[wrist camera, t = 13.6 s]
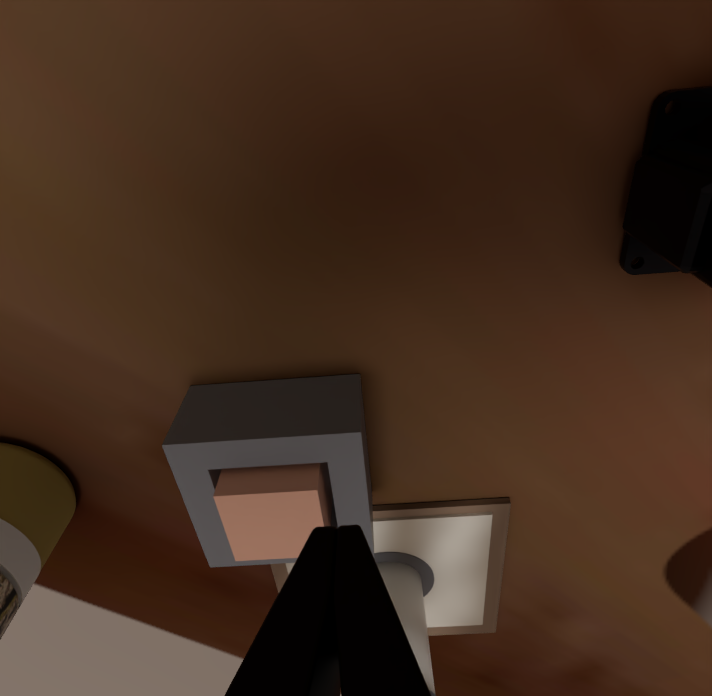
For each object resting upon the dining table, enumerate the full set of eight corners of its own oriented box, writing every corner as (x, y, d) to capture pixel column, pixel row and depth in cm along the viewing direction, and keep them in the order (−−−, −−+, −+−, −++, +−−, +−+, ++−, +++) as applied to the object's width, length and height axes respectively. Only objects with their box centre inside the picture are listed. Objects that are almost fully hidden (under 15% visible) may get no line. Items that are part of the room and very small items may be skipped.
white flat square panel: (508, 497, 27) (514, 515, 26) (494, 626, 34) (498, 644, 33) (258, 512, 28) (254, 530, 27) (293, 636, 35) (291, 654, 34)
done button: (323, 423, 23) (317, 489, 20) (332, 486, 25) (329, 555, 22) (234, 429, 23) (213, 496, 20) (251, 491, 25) (235, 561, 22)
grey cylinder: (422, 558, 29) (446, 744, 21) (423, 600, 31) (445, 781, 24) (351, 562, 29) (349, 748, 21) (357, 603, 31) (357, 784, 24)
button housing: (360, 373, 23) (361, 432, 19) (372, 493, 27) (374, 558, 24) (190, 385, 23) (161, 445, 20) (228, 501, 27) (210, 567, 24)
